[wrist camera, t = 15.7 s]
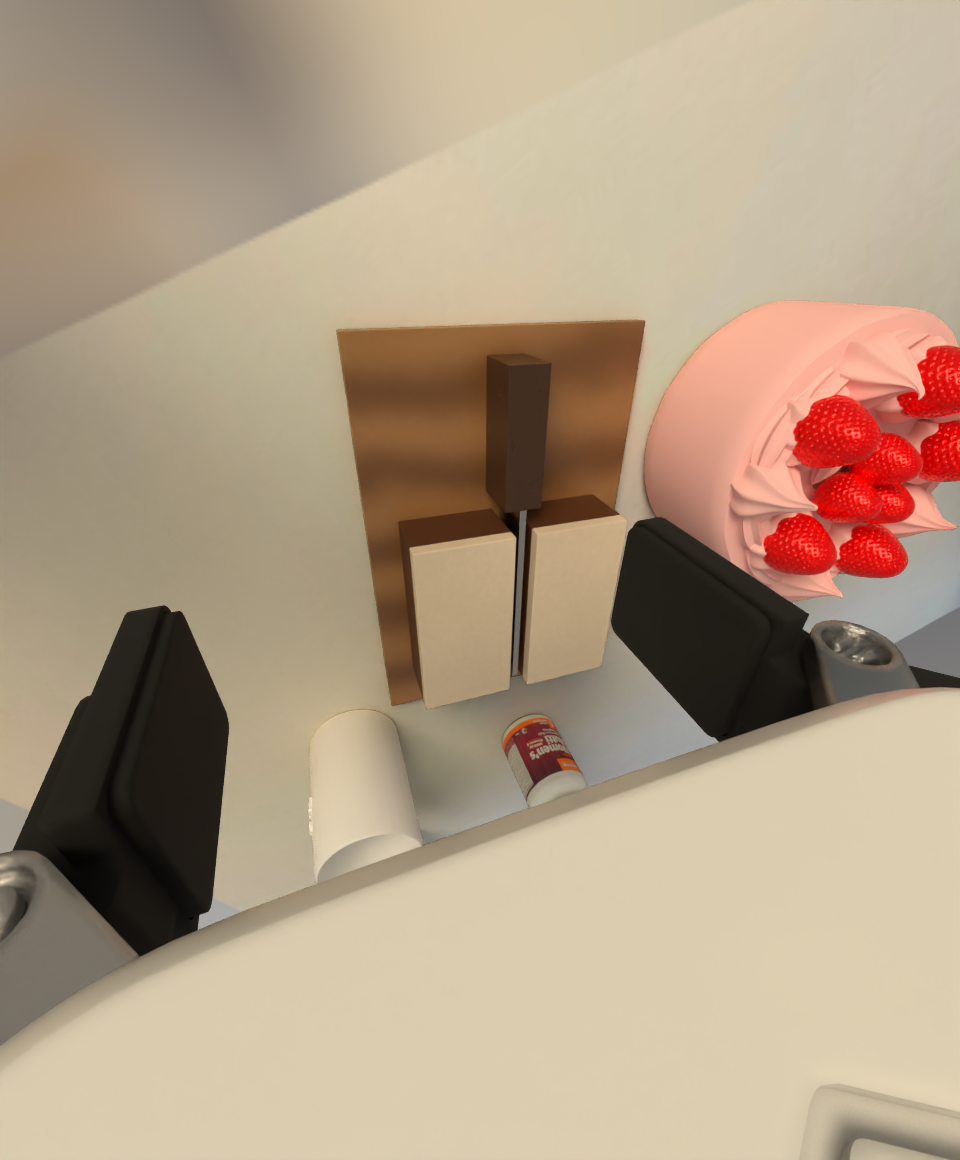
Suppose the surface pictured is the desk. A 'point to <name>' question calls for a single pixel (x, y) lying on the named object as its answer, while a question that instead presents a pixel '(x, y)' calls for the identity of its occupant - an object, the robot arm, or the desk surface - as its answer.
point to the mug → (358, 794)
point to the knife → (516, 452)
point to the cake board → (471, 434)
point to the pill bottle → (541, 760)
